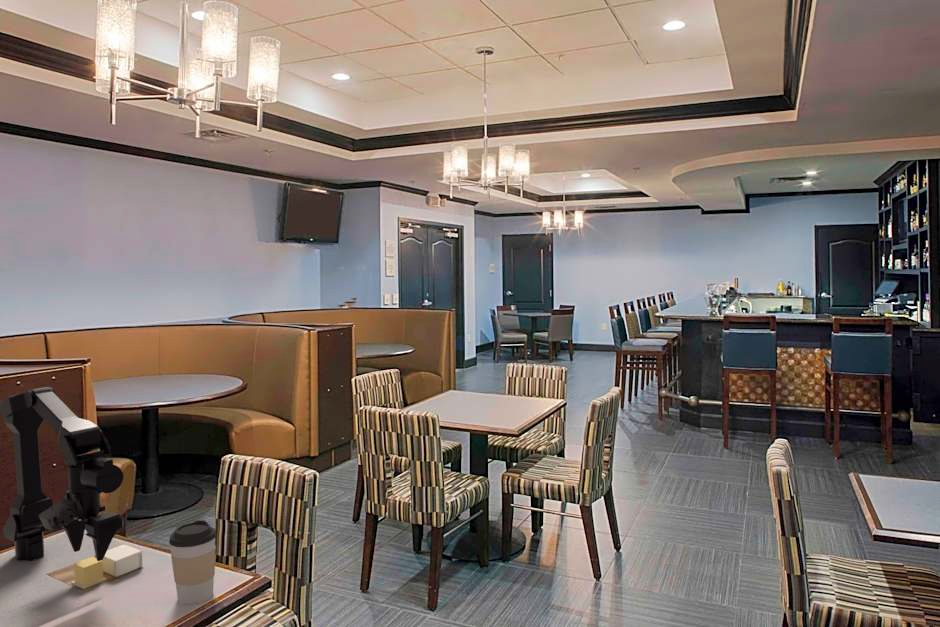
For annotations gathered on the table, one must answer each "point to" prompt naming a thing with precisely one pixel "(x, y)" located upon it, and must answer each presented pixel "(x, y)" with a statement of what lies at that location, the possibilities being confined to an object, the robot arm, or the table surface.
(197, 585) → the coffee cup
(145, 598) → the table surface
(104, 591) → the table surface
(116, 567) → the cover
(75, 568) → the block
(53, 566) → the table surface
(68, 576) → the board
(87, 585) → the thin mint green panel
